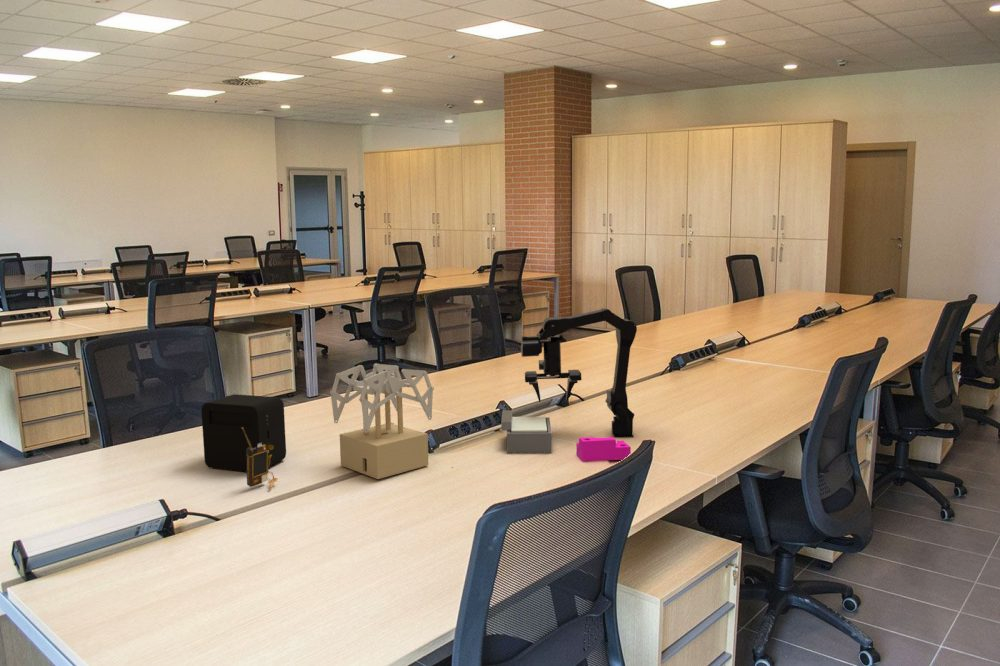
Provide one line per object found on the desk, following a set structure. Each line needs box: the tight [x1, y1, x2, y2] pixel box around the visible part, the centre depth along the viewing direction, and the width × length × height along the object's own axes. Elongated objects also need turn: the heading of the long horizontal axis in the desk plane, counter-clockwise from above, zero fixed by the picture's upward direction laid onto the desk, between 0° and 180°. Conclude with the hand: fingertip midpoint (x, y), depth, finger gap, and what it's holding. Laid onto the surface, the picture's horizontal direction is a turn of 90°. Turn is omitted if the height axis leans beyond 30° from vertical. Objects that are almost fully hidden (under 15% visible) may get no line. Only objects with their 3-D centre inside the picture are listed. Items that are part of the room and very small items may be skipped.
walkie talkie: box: [242, 427, 279, 489], centre depth 215 cm, size 13×13×18 cm
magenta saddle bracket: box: [575, 436, 632, 463], centre depth 237 cm, size 15×6×8 cm
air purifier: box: [200, 393, 287, 473], centre depth 234 cm, size 20×15×20 cm
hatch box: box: [506, 416, 553, 454], centre depth 252 cm, size 14×21×6 cm, turn 178°
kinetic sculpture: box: [329, 363, 435, 480], centre depth 230 cm, size 25×20×30 cm
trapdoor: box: [500, 409, 547, 432], centre depth 252 cm, size 14×18×3 cm
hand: (553, 401), depth 259 cm, fingers open, 9 cm apart
